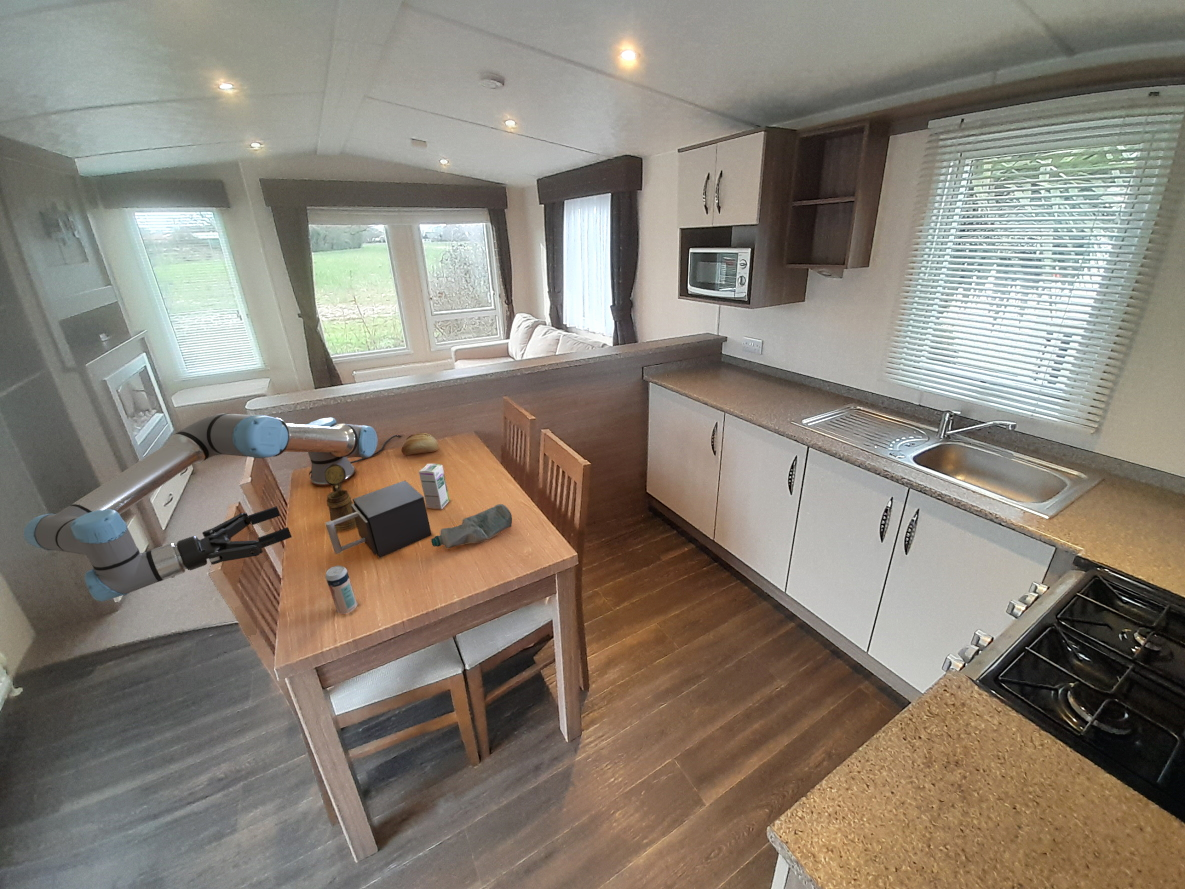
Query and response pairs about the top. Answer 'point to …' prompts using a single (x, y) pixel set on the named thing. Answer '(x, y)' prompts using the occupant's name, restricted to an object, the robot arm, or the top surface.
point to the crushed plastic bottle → (475, 528)
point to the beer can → (341, 589)
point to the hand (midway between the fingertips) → (284, 521)
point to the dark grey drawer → (362, 528)
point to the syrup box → (434, 486)
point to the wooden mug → (339, 498)
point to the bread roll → (419, 444)
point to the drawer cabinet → (395, 517)
